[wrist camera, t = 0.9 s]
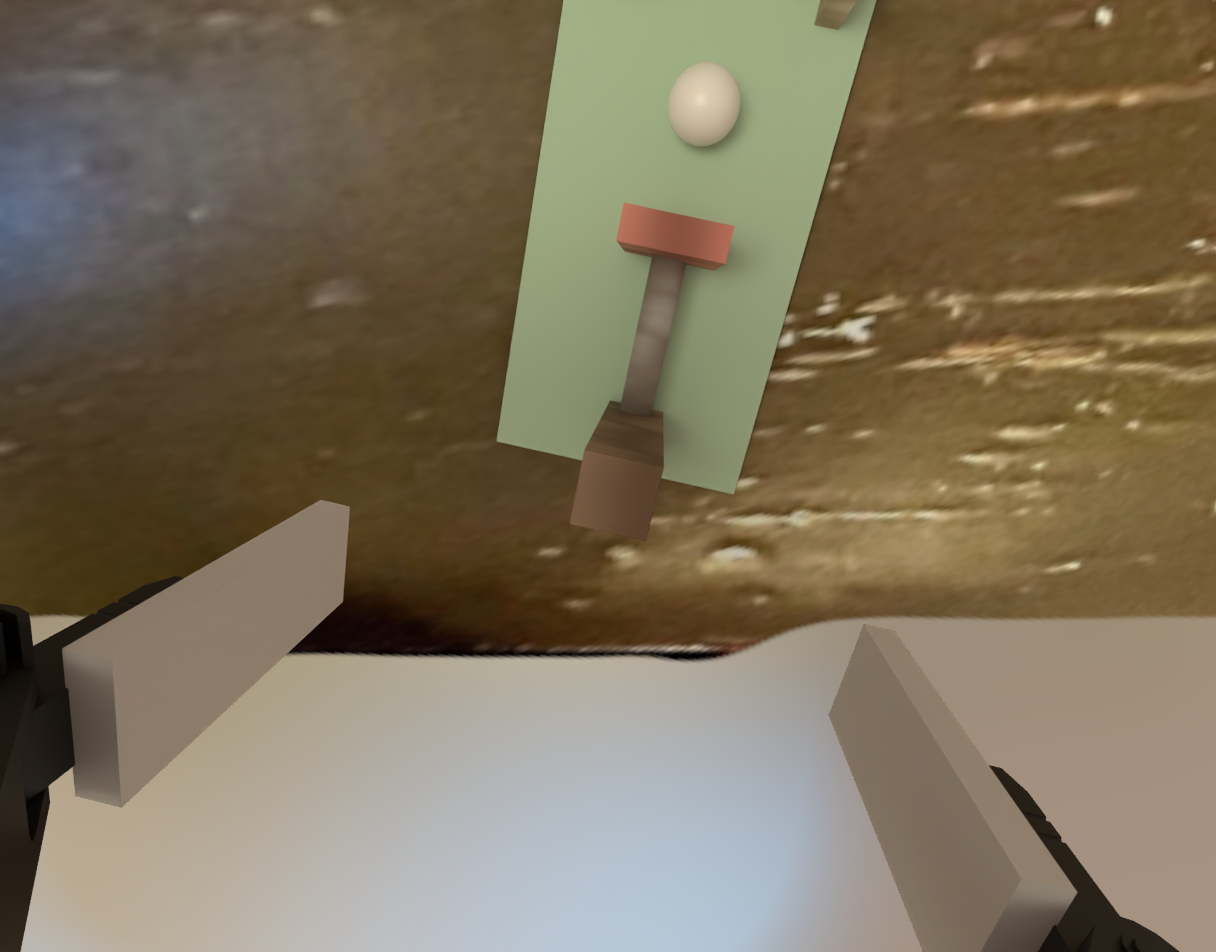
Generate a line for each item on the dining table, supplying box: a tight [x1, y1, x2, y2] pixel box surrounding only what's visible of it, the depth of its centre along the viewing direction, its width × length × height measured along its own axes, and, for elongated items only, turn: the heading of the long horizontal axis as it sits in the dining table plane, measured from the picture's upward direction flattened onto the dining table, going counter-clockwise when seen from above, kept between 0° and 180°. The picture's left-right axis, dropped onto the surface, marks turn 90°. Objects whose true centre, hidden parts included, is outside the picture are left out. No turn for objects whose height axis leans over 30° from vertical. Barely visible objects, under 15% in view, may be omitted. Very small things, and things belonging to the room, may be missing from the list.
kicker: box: [570, 203, 735, 541], centre depth 28 cm, size 5×13×12 cm, turn 168°
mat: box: [497, 0, 876, 494], centre depth 31 cm, size 15×32×1 cm, turn 168°
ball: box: [668, 62, 741, 146], centre depth 28 cm, size 4×4×4 cm
